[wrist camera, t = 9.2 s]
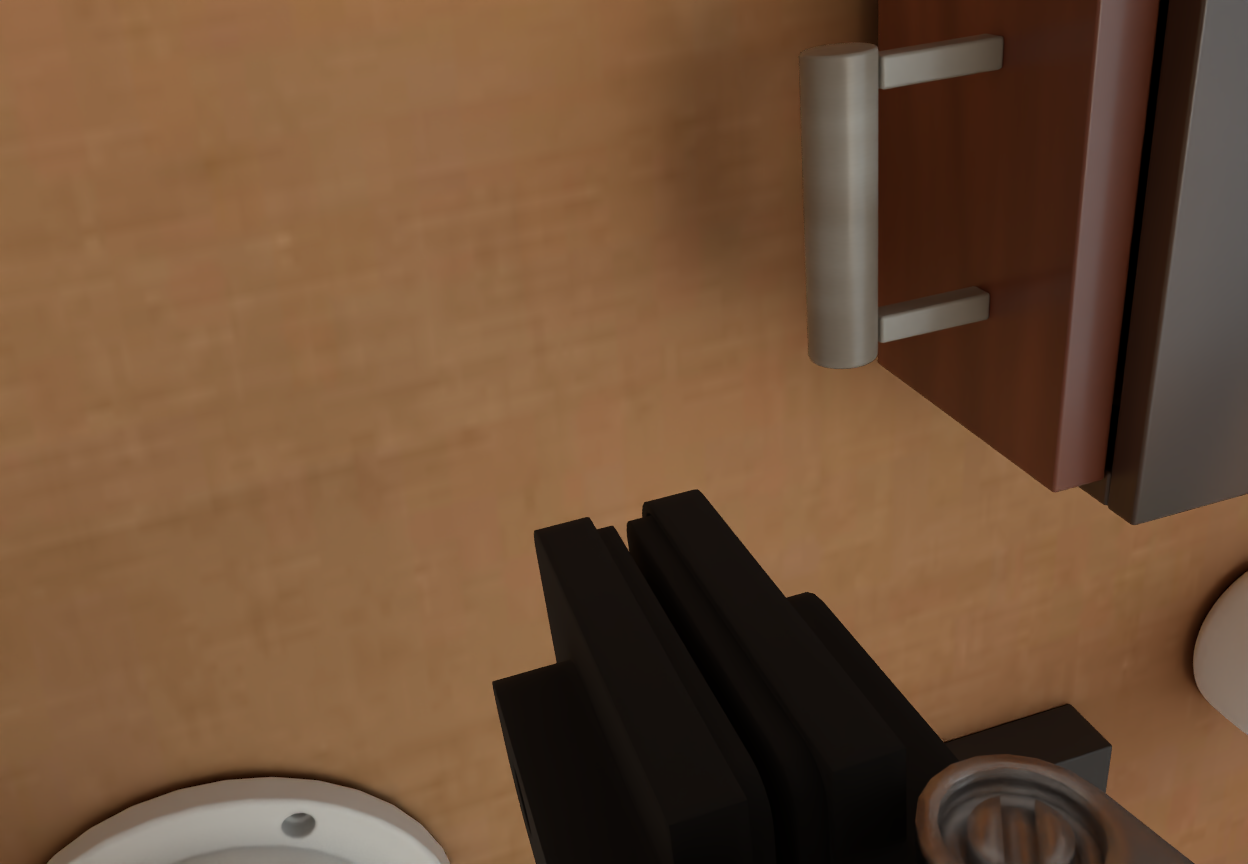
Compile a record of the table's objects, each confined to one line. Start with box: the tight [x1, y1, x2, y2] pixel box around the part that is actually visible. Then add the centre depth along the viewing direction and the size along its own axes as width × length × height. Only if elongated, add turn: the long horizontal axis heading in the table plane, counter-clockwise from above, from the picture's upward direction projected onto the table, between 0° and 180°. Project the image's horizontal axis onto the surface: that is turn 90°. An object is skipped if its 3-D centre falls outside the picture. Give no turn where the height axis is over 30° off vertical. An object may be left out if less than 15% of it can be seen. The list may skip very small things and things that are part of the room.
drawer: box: [799, 0, 1169, 492], centre depth 22 cm, size 16×11×7 cm
